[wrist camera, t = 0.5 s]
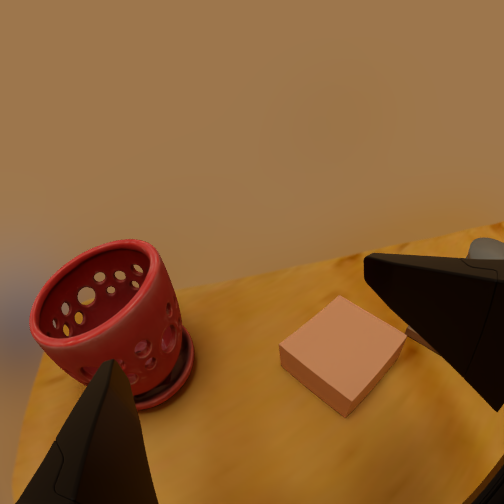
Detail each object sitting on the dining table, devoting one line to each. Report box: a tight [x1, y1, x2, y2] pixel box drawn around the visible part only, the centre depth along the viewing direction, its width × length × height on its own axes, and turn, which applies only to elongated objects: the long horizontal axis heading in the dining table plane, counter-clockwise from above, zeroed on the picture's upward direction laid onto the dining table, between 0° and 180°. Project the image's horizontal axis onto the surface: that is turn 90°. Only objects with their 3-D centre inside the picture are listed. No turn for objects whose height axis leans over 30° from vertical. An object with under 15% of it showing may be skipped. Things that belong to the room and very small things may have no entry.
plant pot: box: [29, 239, 194, 410], centre depth 23 cm, size 13×13×12 cm
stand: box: [279, 295, 407, 418], centre depth 23 cm, size 8×8×4 cm
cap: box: [466, 238, 504, 259], centre depth 19 cm, size 7×7×4 cm
